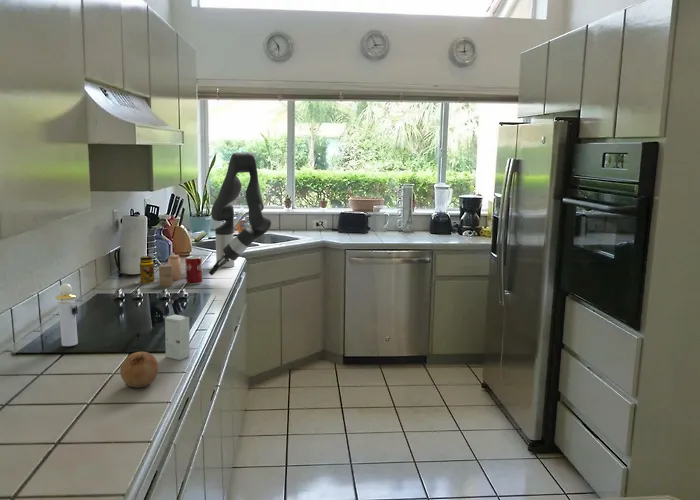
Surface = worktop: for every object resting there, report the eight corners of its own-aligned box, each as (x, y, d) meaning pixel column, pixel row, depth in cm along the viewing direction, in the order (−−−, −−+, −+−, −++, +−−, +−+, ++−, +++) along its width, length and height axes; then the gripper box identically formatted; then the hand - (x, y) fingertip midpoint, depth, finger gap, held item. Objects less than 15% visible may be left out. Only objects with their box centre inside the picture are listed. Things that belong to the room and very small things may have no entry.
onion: (144, 401, 155) (142, 374, 149) (113, 387, 157) (110, 360, 151) (166, 376, 162) (165, 350, 157) (136, 364, 164) (134, 337, 159)
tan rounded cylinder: (171, 277, 290) (170, 254, 288) (183, 277, 290) (182, 254, 288) (167, 280, 285) (166, 256, 283) (179, 280, 284) (177, 256, 282)
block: (161, 284, 275) (160, 265, 274) (172, 284, 276) (171, 264, 275) (160, 286, 270) (159, 267, 269) (171, 286, 271) (170, 266, 270)
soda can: (186, 285, 274) (185, 259, 272) (186, 281, 281) (185, 256, 279) (202, 284, 276) (201, 258, 274) (202, 280, 283) (201, 255, 281)
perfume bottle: (57, 349, 185) (52, 286, 182) (62, 343, 191) (57, 281, 187) (77, 348, 186) (72, 285, 183) (81, 342, 192) (77, 281, 189)
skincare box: (165, 357, 179) (163, 317, 177) (176, 352, 183) (174, 313, 181) (180, 360, 176) (178, 320, 174) (191, 356, 180) (189, 316, 178)
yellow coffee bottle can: (151, 284, 276) (150, 258, 274) (133, 283, 277) (132, 258, 275) (158, 280, 283) (156, 255, 281) (140, 280, 284) (139, 255, 282)
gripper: (233, 239, 280) (208, 265, 283) (225, 244, 267) (199, 271, 270) (245, 251, 281) (220, 276, 284) (238, 256, 268) (211, 282, 271)
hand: (210, 273), depth 277 cm, fingers closed
